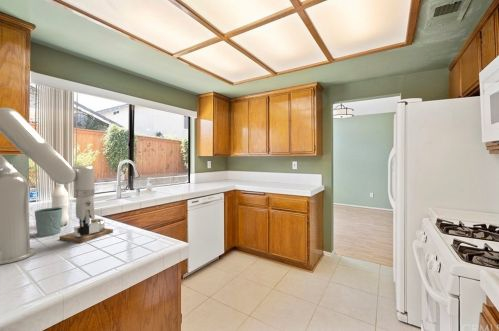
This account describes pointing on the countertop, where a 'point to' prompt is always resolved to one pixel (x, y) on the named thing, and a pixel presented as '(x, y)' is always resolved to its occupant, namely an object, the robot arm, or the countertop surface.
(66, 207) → the water bottle
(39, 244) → the countertop surface
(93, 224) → the latch bar
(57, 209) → the green plant pot
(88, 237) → the lock base
